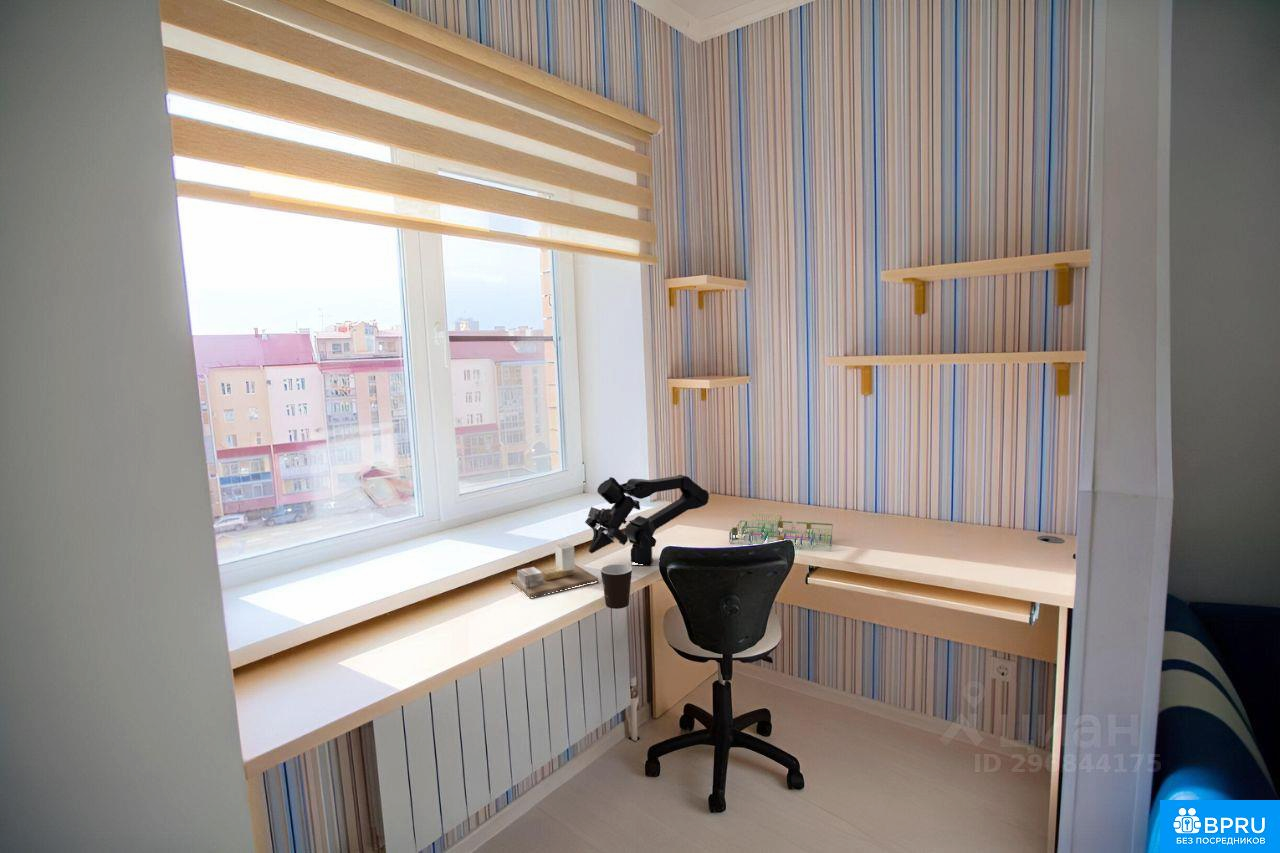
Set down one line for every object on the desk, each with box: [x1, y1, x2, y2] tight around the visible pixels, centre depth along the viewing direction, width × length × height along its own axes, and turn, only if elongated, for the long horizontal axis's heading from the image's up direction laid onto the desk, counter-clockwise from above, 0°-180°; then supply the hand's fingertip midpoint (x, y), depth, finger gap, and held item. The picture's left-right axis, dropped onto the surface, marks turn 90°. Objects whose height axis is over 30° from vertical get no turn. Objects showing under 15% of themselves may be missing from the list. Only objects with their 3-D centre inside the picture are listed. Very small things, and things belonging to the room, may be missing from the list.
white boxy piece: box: [541, 542, 576, 580], centre depth 193 cm, size 9×5×9 cm, turn 122°
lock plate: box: [509, 564, 599, 599], centre depth 193 cm, size 22×16×5 cm
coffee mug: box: [600, 563, 633, 610], centre depth 176 cm, size 12×9×10 cm
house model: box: [729, 513, 834, 547], centre depth 237 cm, size 35×30×5 cm
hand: (590, 552), depth 199 cm, fingers closed
